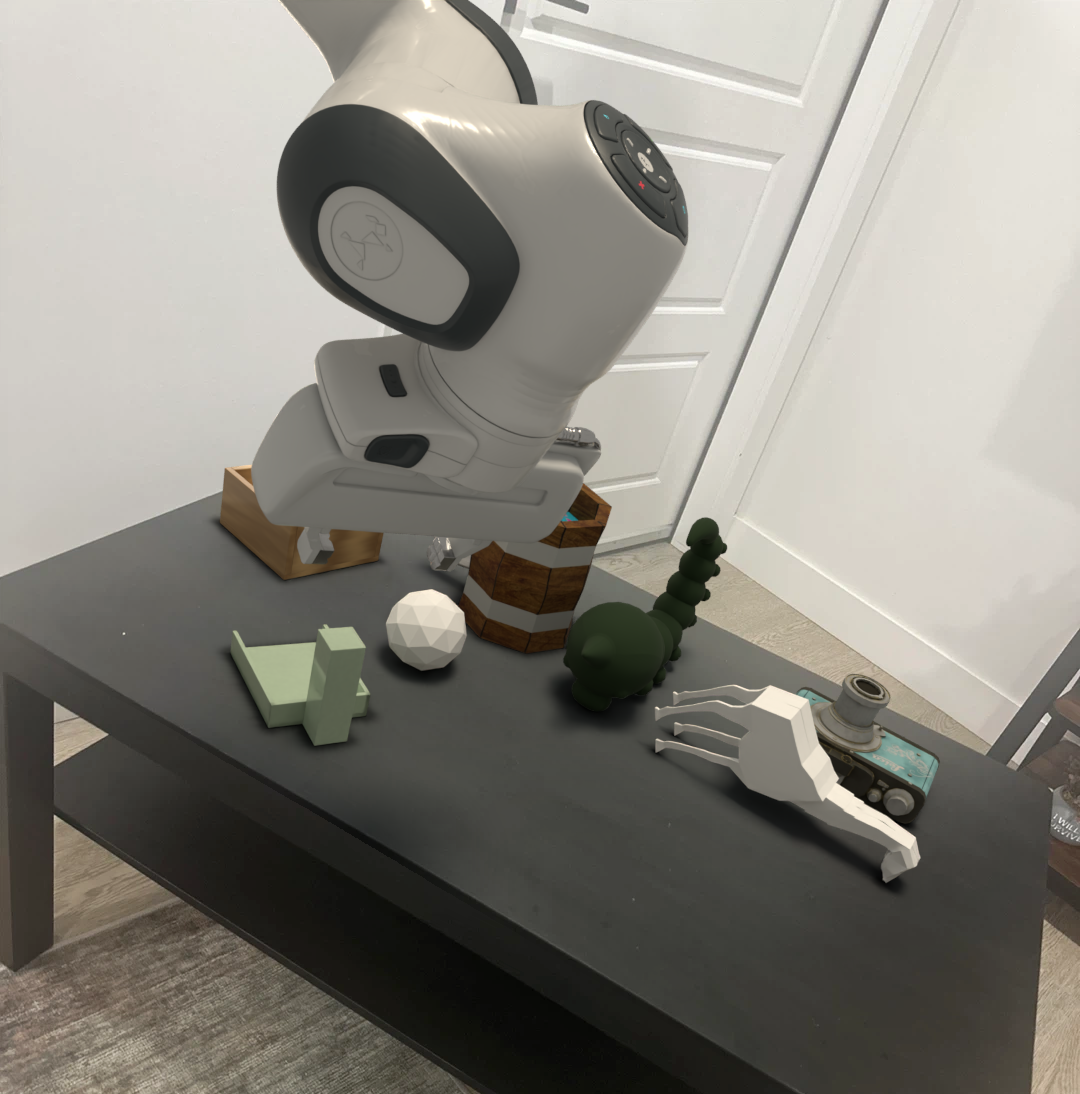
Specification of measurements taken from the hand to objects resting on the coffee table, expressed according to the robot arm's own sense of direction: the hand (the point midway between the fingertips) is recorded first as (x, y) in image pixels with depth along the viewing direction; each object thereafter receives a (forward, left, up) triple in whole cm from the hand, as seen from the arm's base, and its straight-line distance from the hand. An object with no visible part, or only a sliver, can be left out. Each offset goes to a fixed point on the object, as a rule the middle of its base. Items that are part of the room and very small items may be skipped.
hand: (376, 559), depth 64 cm
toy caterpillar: (+38, +1, -23) cm, 45 cm away
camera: (+50, -21, -23) cm, 59 cm away
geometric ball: (+20, +13, -23) cm, 33 cm away
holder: (+22, +36, -23) cm, 48 cm away
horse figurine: (+37, -20, -23) cm, 48 cm away
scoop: (+7, +13, -23) cm, 27 cm away
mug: (+35, +18, -23) cm, 46 cm away
